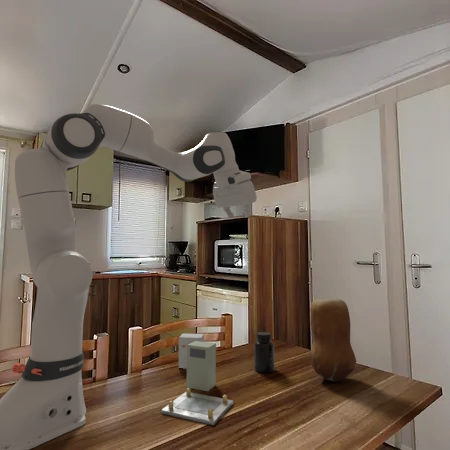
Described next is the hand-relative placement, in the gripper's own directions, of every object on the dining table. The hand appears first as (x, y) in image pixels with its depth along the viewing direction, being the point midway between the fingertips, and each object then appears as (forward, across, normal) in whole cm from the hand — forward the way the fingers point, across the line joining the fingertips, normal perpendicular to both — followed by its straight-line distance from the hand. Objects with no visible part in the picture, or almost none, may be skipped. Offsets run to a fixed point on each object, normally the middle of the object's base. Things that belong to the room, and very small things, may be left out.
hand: (239, 217), depth 116 cm
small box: (+44, -9, -30) cm, 54 cm away
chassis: (+37, +20, -43) cm, 60 cm away
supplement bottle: (+50, +8, -13) cm, 52 cm away
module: (+41, +8, -36) cm, 55 cm away
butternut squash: (+54, +26, -2) cm, 60 cm away
